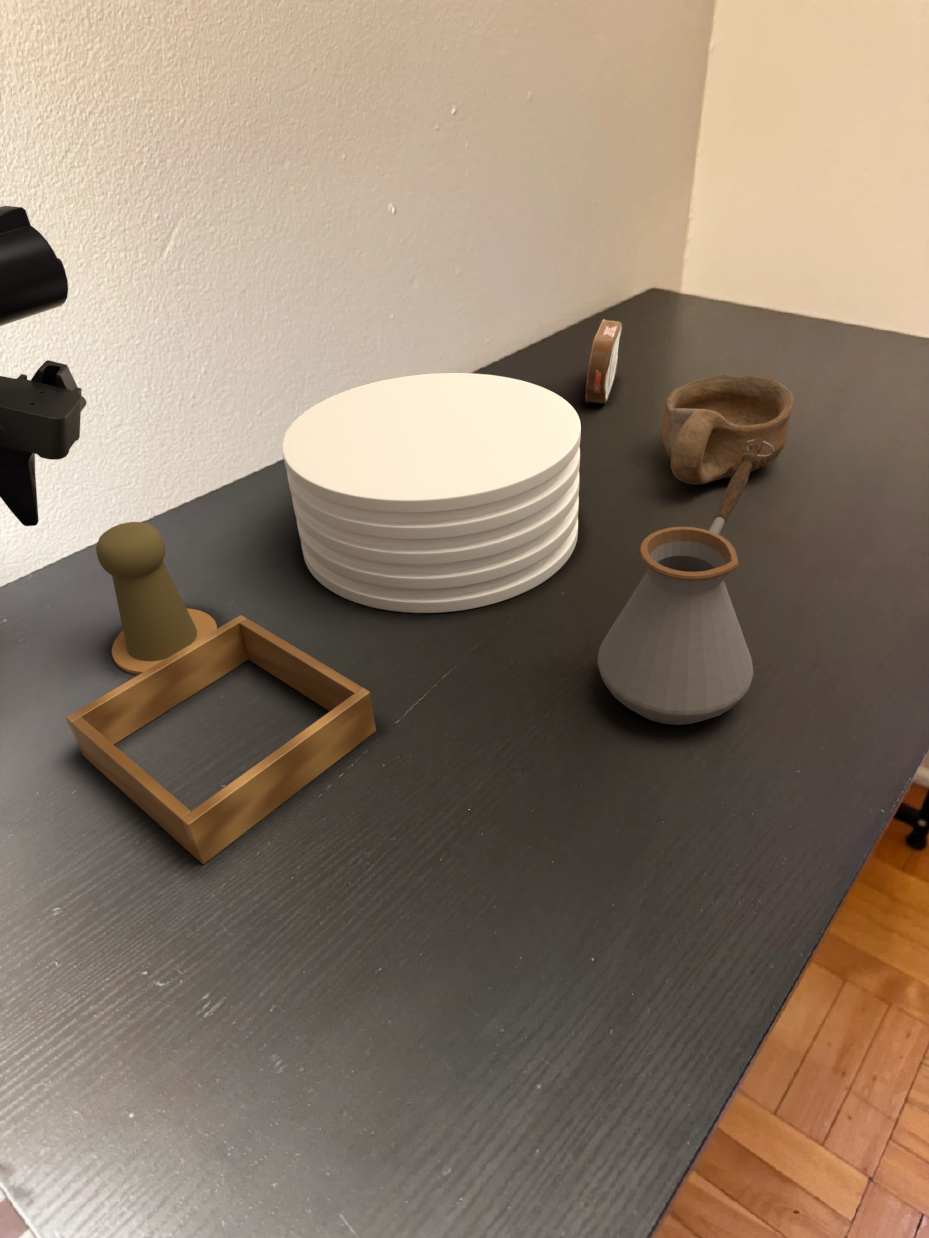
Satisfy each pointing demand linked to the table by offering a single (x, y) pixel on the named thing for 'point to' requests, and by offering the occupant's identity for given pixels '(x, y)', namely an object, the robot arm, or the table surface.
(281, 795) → the wooden frame
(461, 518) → the plate stack
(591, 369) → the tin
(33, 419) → the robot arm
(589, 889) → the table surface
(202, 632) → the coaster
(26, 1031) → the table surface
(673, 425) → the brown clay mug
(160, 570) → the pepper shaker
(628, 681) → the coffee pot
